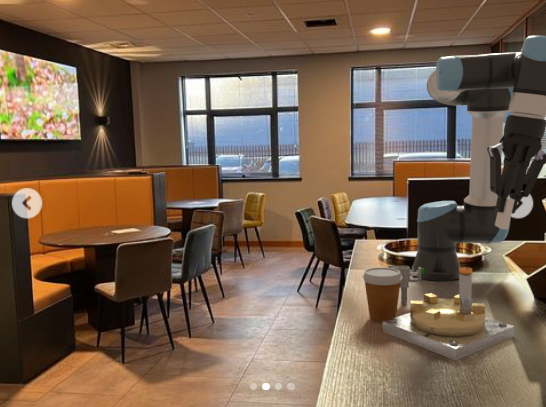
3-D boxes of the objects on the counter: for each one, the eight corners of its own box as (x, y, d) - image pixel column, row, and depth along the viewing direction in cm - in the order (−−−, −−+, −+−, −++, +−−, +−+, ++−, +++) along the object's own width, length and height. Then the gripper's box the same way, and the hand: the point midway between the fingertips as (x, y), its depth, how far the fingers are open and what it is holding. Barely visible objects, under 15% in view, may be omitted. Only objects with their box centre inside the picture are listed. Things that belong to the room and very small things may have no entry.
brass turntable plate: (441, 306, 129) (441, 250, 127) (500, 324, 115) (501, 262, 114) (395, 320, 120) (395, 260, 118) (453, 341, 107) (454, 275, 105)
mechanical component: (424, 305, 138) (424, 268, 137) (384, 304, 140) (384, 268, 139) (423, 302, 141) (423, 265, 140) (384, 301, 143) (384, 265, 142)
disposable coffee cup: (379, 328, 123) (379, 279, 121) (355, 317, 131) (354, 270, 130) (410, 321, 127) (410, 273, 126) (385, 310, 136) (385, 265, 134)
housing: (439, 313, 132) (440, 302, 131) (514, 336, 115) (514, 324, 115) (382, 331, 121) (382, 319, 121) (455, 360, 104) (455, 346, 104)
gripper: (546, 118, 110) (520, 225, 116) (488, 111, 109) (464, 219, 114) (568, 121, 103) (539, 235, 108) (506, 113, 102) (480, 229, 107)
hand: (501, 227), depth 111 cm, fingers closed
